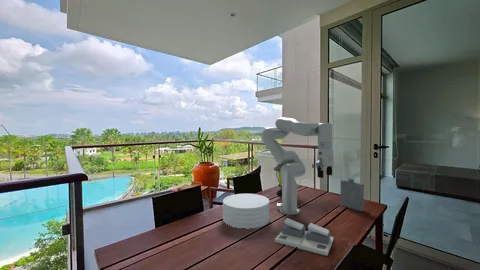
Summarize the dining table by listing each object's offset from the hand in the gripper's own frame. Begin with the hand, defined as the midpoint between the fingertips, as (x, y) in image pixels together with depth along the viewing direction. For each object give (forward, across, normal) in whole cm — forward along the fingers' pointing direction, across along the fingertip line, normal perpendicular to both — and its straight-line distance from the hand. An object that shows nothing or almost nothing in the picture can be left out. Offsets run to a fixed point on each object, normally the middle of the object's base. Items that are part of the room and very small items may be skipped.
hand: (325, 176), depth 128 cm
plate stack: (+28, -25, +38) cm, 53 cm away
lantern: (+28, +33, +52) cm, 67 cm away
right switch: (+22, -19, -7) cm, 30 cm away
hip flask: (+28, +41, +3) cm, 49 cm away
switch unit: (+28, -23, -2) cm, 36 cm away
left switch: (+22, -23, +5) cm, 32 cm away
